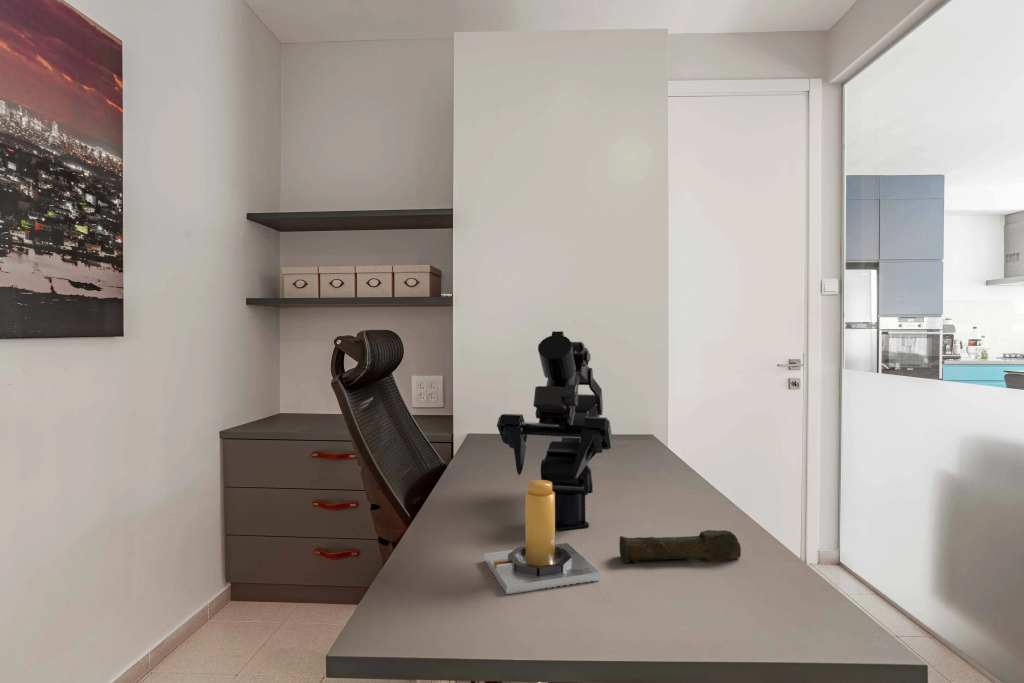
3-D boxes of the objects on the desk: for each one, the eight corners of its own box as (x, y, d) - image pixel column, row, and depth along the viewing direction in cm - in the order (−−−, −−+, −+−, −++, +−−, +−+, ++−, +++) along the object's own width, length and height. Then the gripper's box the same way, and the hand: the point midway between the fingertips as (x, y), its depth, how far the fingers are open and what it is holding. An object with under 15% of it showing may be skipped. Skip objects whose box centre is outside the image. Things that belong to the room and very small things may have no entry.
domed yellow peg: (553, 556, 88) (553, 479, 87) (555, 568, 83) (556, 486, 83) (525, 556, 88) (525, 479, 87) (525, 568, 83) (526, 487, 83)
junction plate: (567, 550, 93) (567, 536, 93) (599, 580, 82) (599, 565, 82) (484, 561, 89) (484, 547, 89) (506, 594, 78) (506, 578, 78)
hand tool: (622, 567, 87) (622, 537, 87) (618, 556, 91) (618, 528, 91) (747, 567, 87) (747, 537, 87) (737, 557, 91) (737, 528, 91)
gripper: (499, 366, 97) (478, 443, 87) (609, 368, 92) (600, 450, 82) (513, 406, 105) (494, 481, 95) (615, 409, 100) (607, 489, 89)
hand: (546, 475), depth 90 cm, fingers open, 9 cm apart
